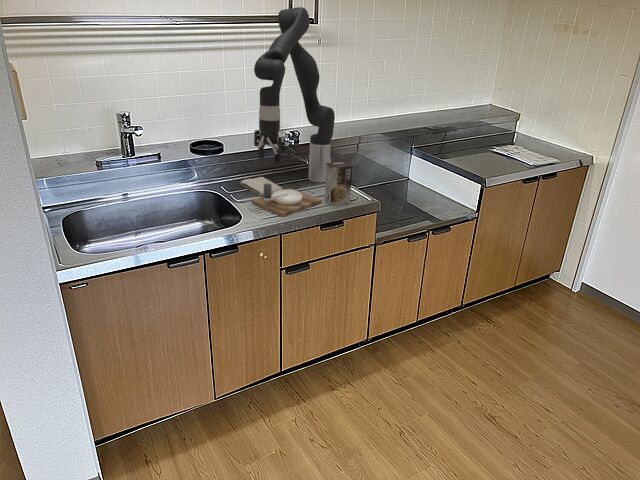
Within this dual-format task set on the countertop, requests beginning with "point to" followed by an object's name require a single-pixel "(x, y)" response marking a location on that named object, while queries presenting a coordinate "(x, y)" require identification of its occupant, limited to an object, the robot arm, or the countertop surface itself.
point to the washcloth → (259, 185)
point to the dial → (282, 196)
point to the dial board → (287, 209)
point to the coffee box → (338, 183)
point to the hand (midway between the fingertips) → (269, 160)
